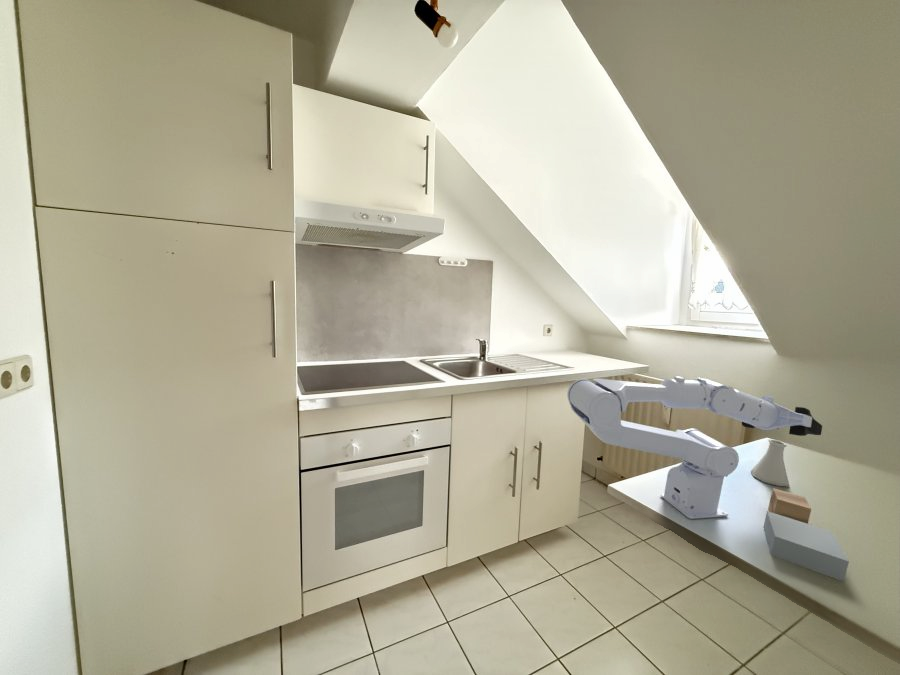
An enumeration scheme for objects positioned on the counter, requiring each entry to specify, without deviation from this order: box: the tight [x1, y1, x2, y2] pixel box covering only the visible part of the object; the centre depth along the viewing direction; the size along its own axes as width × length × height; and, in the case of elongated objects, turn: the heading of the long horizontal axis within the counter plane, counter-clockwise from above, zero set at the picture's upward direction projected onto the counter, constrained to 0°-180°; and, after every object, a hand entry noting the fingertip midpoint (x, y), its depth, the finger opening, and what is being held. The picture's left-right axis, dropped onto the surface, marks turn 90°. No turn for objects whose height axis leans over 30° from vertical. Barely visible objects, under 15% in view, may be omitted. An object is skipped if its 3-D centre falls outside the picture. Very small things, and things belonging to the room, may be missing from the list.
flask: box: [750, 439, 790, 487], centre depth 89 cm, size 7×7×10 cm
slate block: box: [762, 510, 850, 582], centre depth 64 cm, size 9×9×4 cm
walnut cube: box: [767, 487, 812, 524], centre depth 73 cm, size 5×5×5 cm
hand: (797, 427), depth 76 cm, fingers open, 7 cm apart
